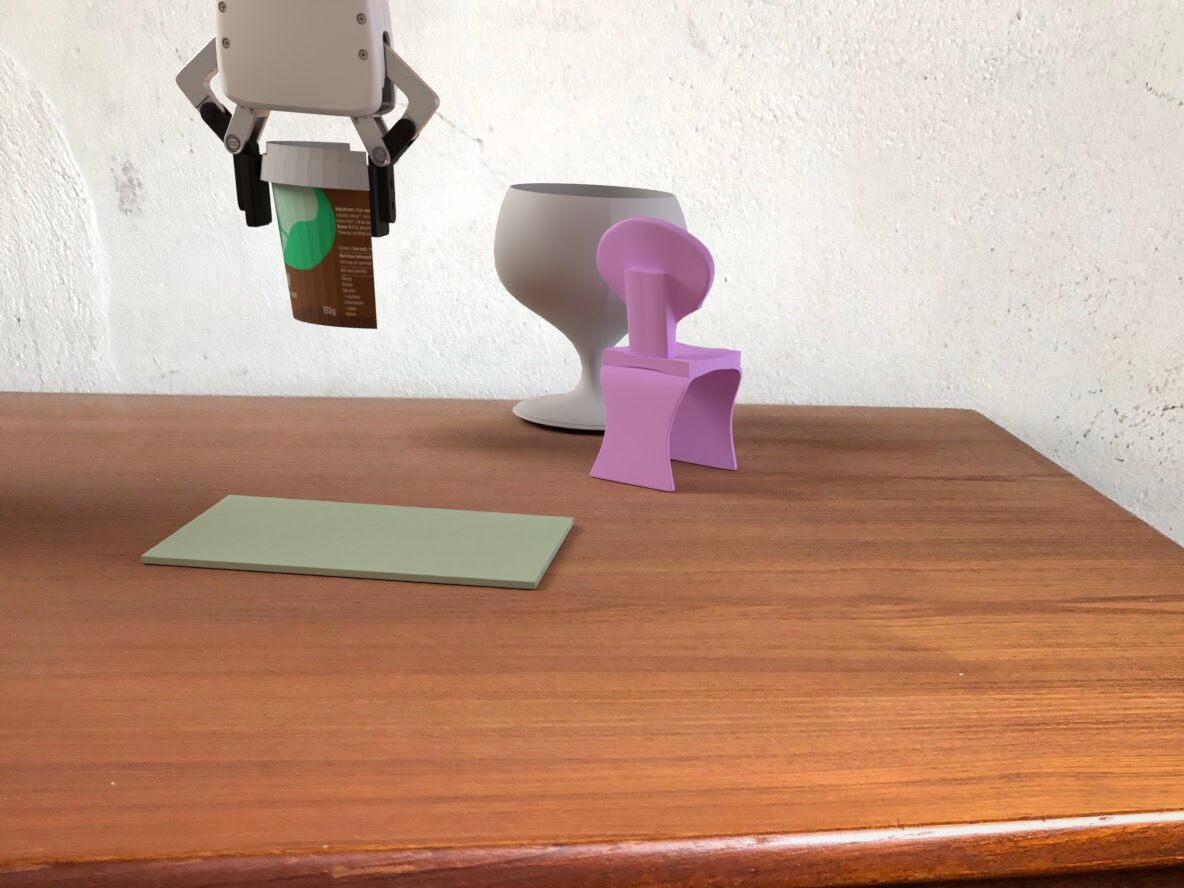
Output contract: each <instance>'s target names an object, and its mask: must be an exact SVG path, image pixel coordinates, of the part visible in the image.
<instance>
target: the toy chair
mask: <svg viewBox="0 0 1184 888" xmlns="http://www.w3.org/2000/svg"><path fill="white" fill-rule="evenodd" d="M596 260H597V267H598V270H599V273H600V275H601V277H602V278H603V280H604V281H605V282H606V283H607V285H608V286H609V287H610V288H611V289H612V290H613V291H614V292H616V293H617V294H618V296H619V297H620V298H621V299H622V300H623V301H624V302H625V303H626V304H627V318H628V334H627V335H628V345H626V346H615V347H612V348H606V349H603V366H602V368H601V371H600V380H601V386H602V391H603V396H604V401H605V408H606V430H605V431H604V436H603V440H602V443H601V446H600V449H599V450H598V451H599V452H598V454H597V457H596V459H595V460H594V464H593V465H592V468H591V470H590V472H589V476H590V477H593V478H596V479H602V480H605V481H612V482H616V483H617V482H618V483H623V484H626V485H627V484H628V485H632V486H639V487H643V488H648V489H653V490H659V491H665V492H674V491H675V490H676V489H675V482H674V477H673V470H672V465H671V460H673V461H679V462H684V463H689V464H695V465H701V466H705V467H712V468H716V469H721V470H722V469H723V470H727V471H736V470H738V464H737V458H736V453H735V446H734V438H733V413H734V407H735V403H736V399H737V395H738V393H739V390H740V389H739V388H740V386H741V383H742V379H743V369H742V367H741V360H742V359H741V356H742V352H741V350H736V349H728V348H721V347H720V348H717V347H704V346H698V345H692V344H688V343H684V342H683V343H682V342H679V341H677V340H676V339H677V338H676V337H677V327H678V323H680V322H681V321H682V320H683V319H684V318H686V317H688V316H689V315H691V314H693V313H694V312H697V311H699V310H701V309H702V307H703V304H704V302H705V300H706V298H707V297H708V295H709V293H710V291H711V289H712V286H713V283H714V280H715V274H716V265H715V261H714V258H713V256H712V253H711V252H710V250H709V248H708V247H707V246H706V245H705V244H704V243H703V242H702V241H701V240H700V239H699V238H698V237H696V236H695V235H694V234H692V233H690V232H689V231H688V232H687V231H685V230H684V229H682V228H680V227H678V226H676V225H674V224H672V223H670V222H667V221H664V220H661V219H656V218H648V217H631V218H627V219H624V220H622V221H620V222H618V223H616V224H615V225H613V226H612V227H610V228H609V229H608V230H607V231H606V232H605V233H604V235H603V236H602V238H601V240H600V243H599V245H598V248H597V257H596Z"/></svg>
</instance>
